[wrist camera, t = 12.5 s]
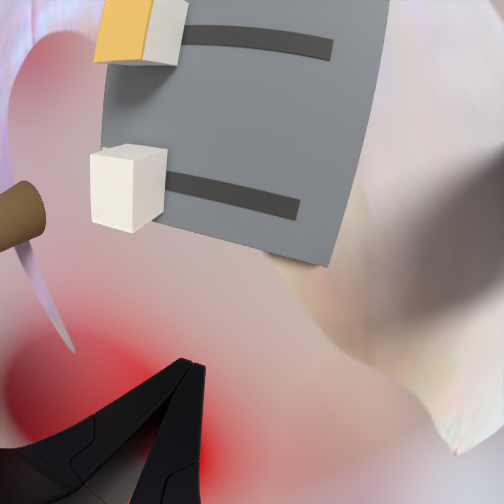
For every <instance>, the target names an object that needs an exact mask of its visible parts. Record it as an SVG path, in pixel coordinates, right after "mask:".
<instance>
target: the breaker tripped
mask: <svg viewBox="0 0 504 504" xmlns="http://www.w3.org/2000/svg"><path fill="white" fill-rule="evenodd" d="M188 6H189V3H187V2H186V1H184V0H105V3H104V8H103V12H102V17H101V22H100V27H99V32H98V37H97V43H96V49H95V57H94V63H108V64H121V65H131V66H146V65H168V66H177V64H178V58H179V52H180V46H181V41H182V35H183V30H184V25H185V20H186V15H187V10H188Z"/></svg>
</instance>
